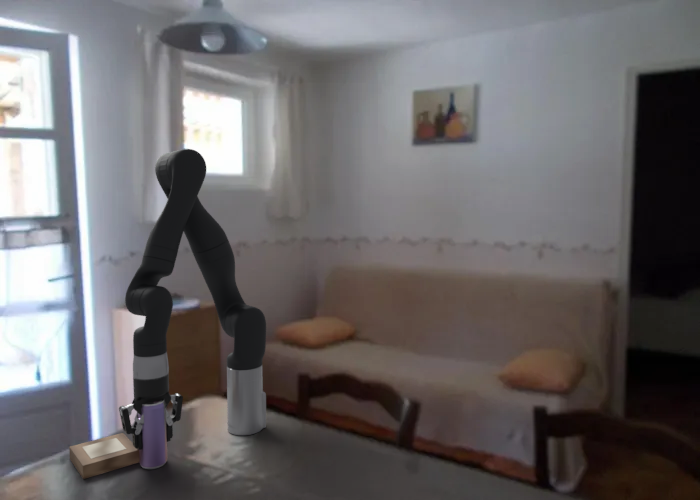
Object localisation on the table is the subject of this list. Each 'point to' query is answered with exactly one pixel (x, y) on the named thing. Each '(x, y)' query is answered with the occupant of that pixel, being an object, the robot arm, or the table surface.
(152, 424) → the beverage can
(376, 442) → the table surface
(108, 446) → the walnut slab
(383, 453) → the table surface
